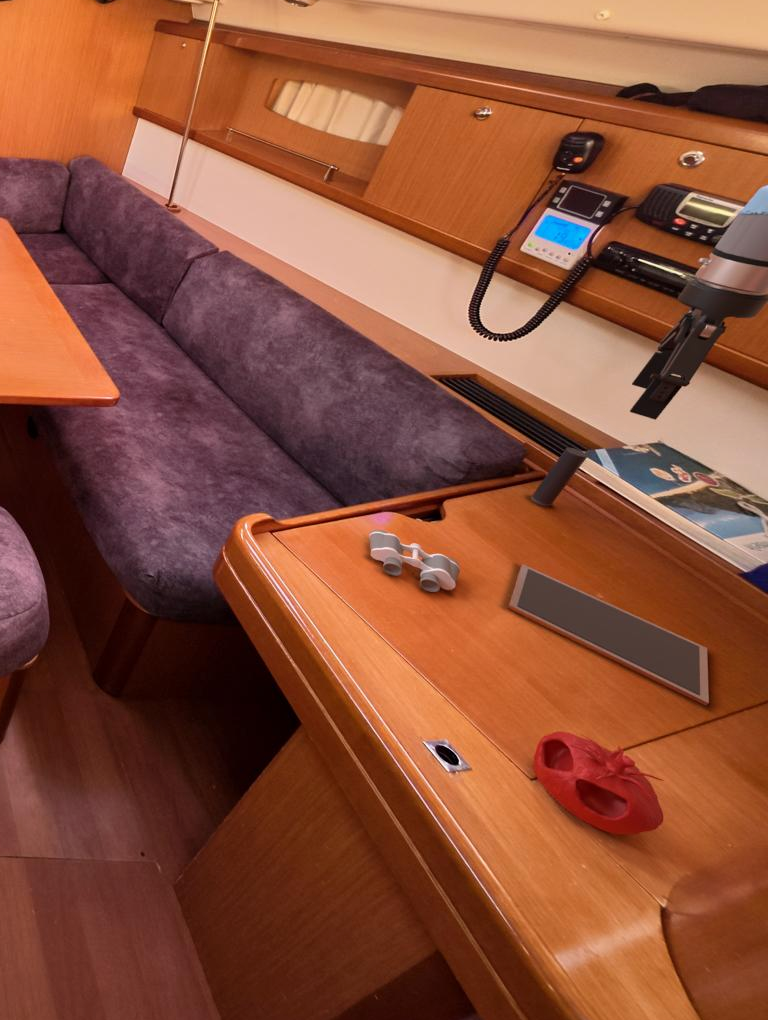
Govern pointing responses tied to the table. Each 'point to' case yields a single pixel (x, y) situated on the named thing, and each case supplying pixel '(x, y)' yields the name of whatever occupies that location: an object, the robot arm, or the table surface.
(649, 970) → the table surface
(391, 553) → the binoculars
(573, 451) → the dark gray cylinder
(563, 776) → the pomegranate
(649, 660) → the tablet
